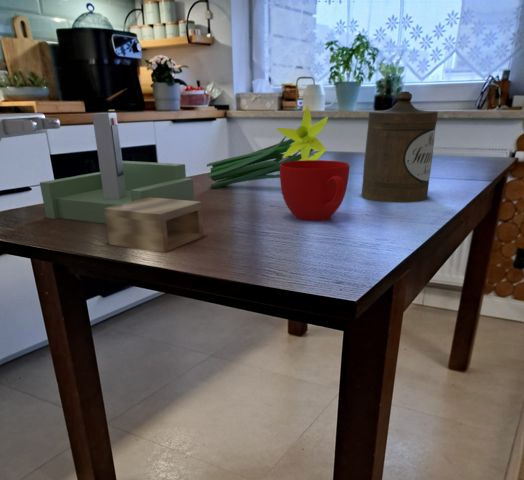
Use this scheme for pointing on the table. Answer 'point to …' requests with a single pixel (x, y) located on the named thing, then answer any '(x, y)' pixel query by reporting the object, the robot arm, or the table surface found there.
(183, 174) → the sofa
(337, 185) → the ceramic cup
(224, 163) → the daffodil flowers
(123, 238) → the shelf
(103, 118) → the grey rectangular block
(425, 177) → the wooden container
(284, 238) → the table surface
